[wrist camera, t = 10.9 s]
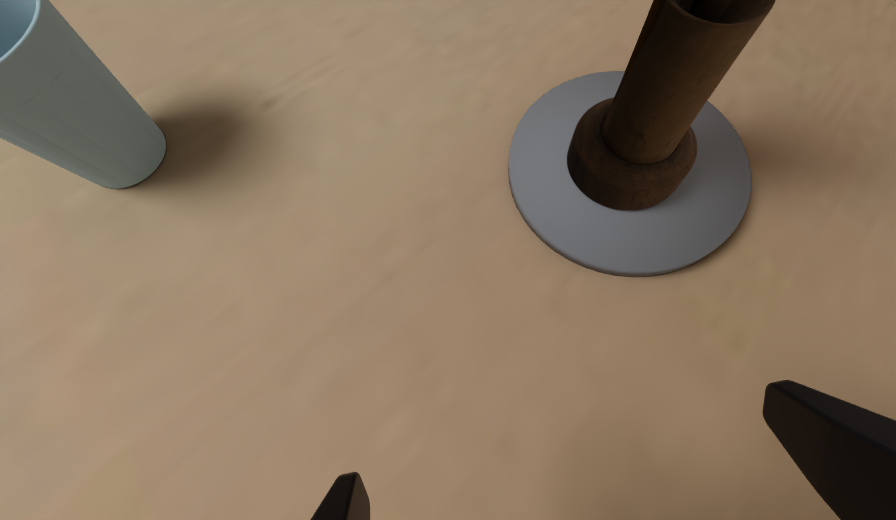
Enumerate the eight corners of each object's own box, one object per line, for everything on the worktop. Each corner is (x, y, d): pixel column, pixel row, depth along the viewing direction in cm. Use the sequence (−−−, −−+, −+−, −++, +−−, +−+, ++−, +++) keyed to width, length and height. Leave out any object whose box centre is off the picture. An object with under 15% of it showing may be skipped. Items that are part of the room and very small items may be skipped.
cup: (128, 96, 32) (-28, -47, 22) (204, 133, 30) (72, -4, 20) (53, 175, 30) (-156, 55, 20) (130, 220, 28) (-57, 113, 18)
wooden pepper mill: (666, 116, 26) (986, -414, 10) (692, 208, 24) (1174, -284, 7) (559, 124, 27) (689, -372, 10) (574, 216, 24) (778, -235, 8)
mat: (793, 191, 25) (805, 182, 24) (612, 325, 23) (617, 320, 22) (628, 50, 30) (633, 38, 29) (465, 152, 28) (464, 142, 27)
